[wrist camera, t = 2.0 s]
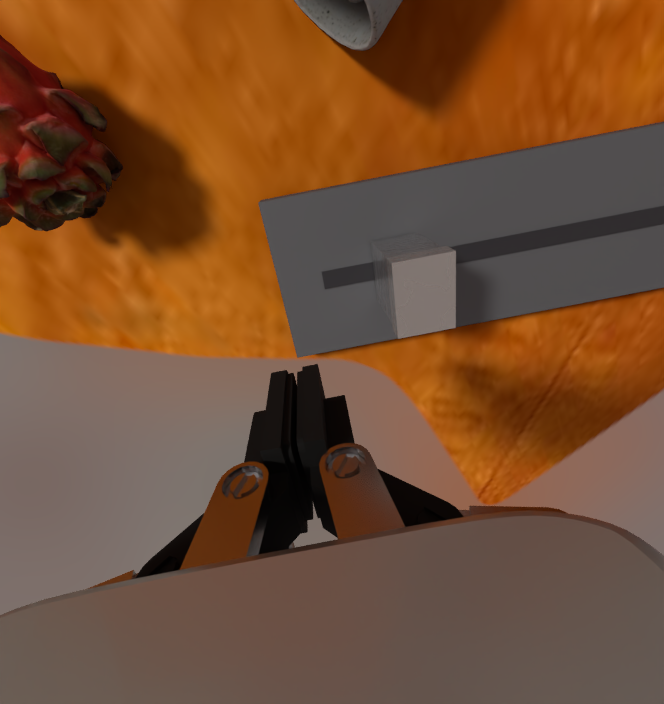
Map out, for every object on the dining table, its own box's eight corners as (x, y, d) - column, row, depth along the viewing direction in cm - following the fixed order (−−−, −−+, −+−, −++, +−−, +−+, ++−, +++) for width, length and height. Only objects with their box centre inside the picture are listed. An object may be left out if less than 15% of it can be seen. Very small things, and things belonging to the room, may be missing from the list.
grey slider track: (261, 200, 23) (254, 205, 19) (803, 94, 22) (897, 80, 19) (297, 345, 28) (297, 371, 24) (737, 261, 28) (800, 274, 24)
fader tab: (369, 240, 22) (391, 263, 17) (417, 230, 22) (455, 250, 17) (376, 300, 24) (398, 338, 19) (420, 292, 24) (455, 327, 19)
